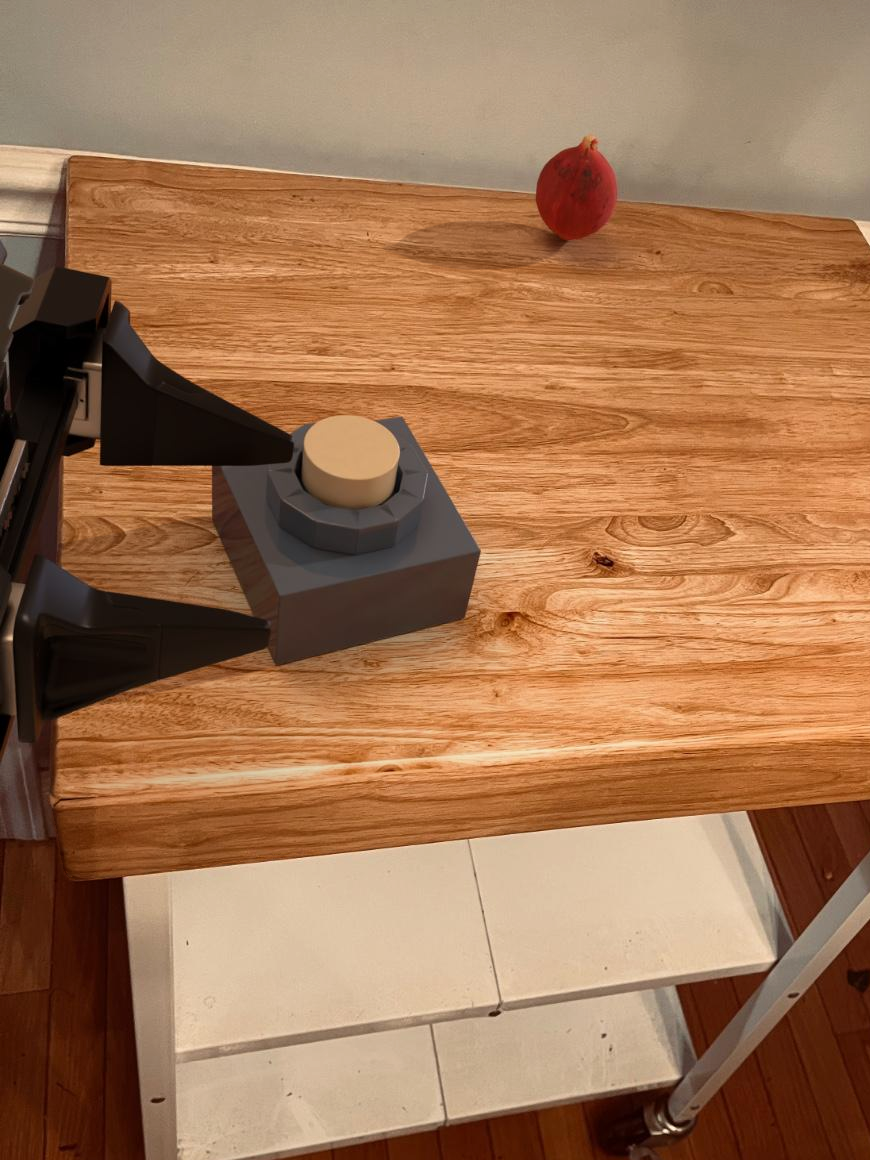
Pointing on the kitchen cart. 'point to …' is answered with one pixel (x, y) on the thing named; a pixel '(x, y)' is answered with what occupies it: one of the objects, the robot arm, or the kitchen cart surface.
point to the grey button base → (344, 553)
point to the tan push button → (349, 462)
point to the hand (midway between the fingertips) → (282, 535)
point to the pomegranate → (577, 191)
